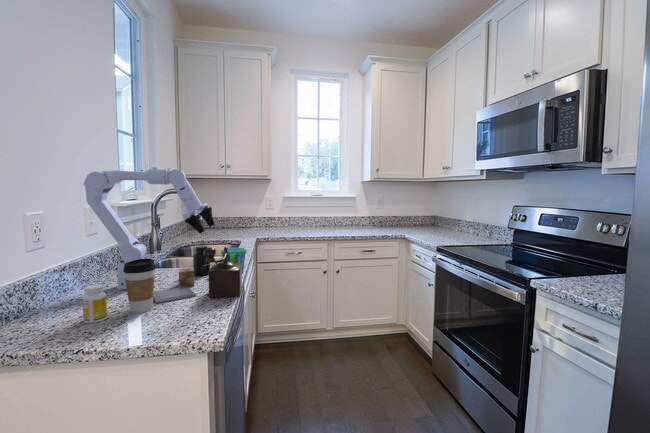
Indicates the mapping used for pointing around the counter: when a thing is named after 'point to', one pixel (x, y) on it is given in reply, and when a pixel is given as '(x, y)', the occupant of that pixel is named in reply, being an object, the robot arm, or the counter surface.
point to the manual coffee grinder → (223, 276)
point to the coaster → (173, 294)
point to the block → (186, 277)
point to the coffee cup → (140, 284)
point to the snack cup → (236, 255)
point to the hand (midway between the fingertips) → (207, 228)
